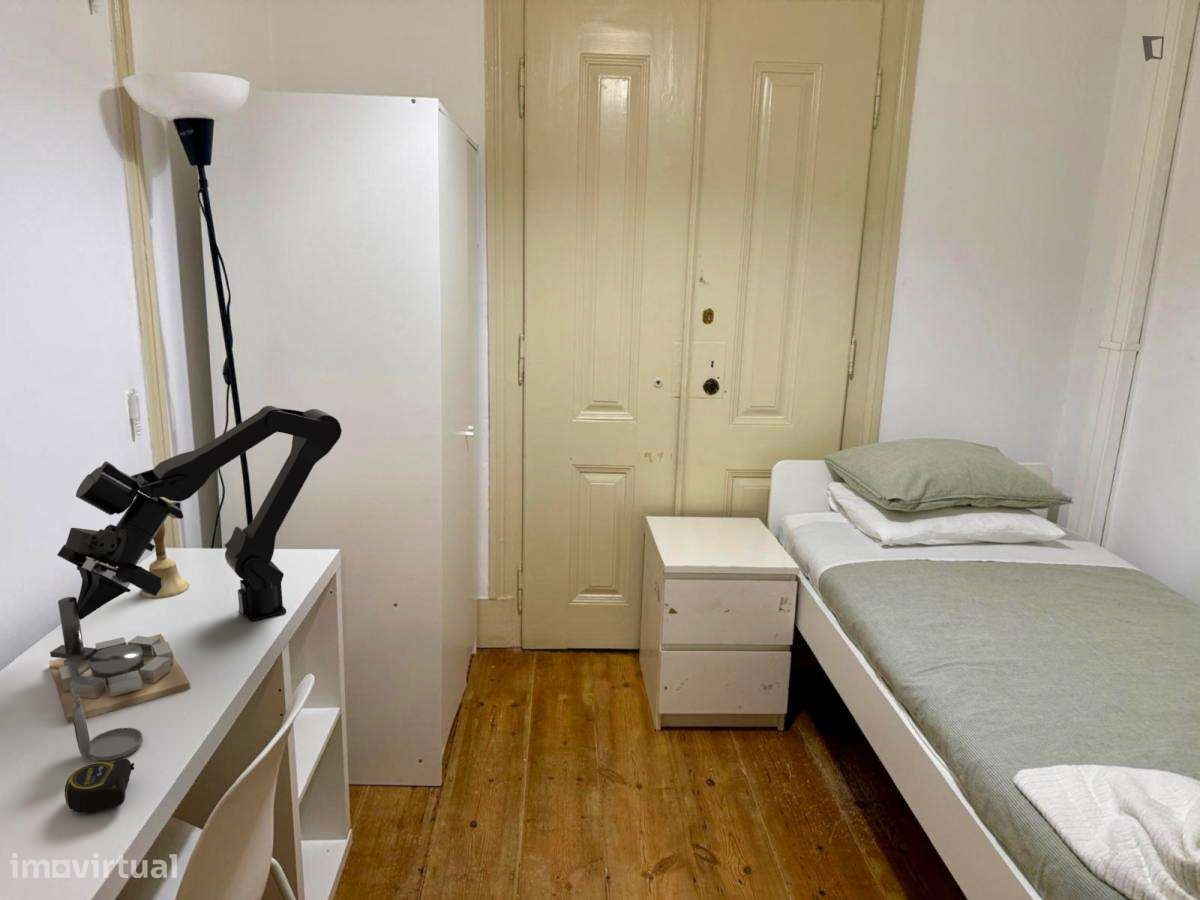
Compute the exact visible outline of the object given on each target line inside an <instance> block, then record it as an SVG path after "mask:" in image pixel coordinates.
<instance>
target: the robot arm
mask: <svg viewBox="0 0 1200 900" xmlns="http://www.w3.org/2000/svg"><path fill="white" fill-rule="evenodd" d="M342 432H343V431H342V427H341V424H340V421H339V420H338V419H337V418H336V417H334V416H332V415H330V414H329V413H328V412H324V411H323V410H320V409H318V408H312V409H308V410H305V411H301V410H296V409H292V408H291V409H290V408H280V407H276V406H273V405H266V406H263V407H262V408H261V409H260V410H259V411H258V412H256V413H254V414H253V415H252V416H250V417H248V418H247V419H245V420H243V421H242V422H240V423H239V424H237V425H235V426H234V427H232V428H230V429H229V430H227V431H226V432H224V433H222V434H221V435H219V436H217V437H216V438H214V439H212V440H211V441H209V442H208V443H205V445H203V446H201V447H200V448H199V447H198V448H196V449H194V450H191V451H186V452H183V453H179V454H176V455H175V456H172V457H169V458H167V459H165V460H163V461H161V462H159V463H158V464H157V465H155V466H154V467H153V468H152V469H149V470H146V471H142V472H139V473H136V474H132V475H131V476H130V475H128V474H127V473H125V472H124V471H121V470H120V469H118V468H117V467H116V466H115V465H113V464H112V463H110V462H109V461H104V462H103V463H102V465H101V466H99V467H96V468H95V469H94V470H93V471H92V472H91V473H88V474H87V475H86V476H85V477H84V479H83V480H82V482H81V483H80V484H79V486H78V488H77V490H76V493H75V497H76V498H78V499H79V500H81V501H83V502H85V503H87V504H88V505H91V507H94V508H96V509H97V510H100V511H102V512H103V513H105V514H107V515H109V516H113V515H115V514H117V515H120V514H122V513H124V514H123V515H122V516H121V518H120V519H119V521H118V523H116V525H114V524H111V523H110V524H108V525H107V526H106V527H105V528H104V529H102V528H100V529H99V530H93V529H86V528H80V527H70V531H69V533H68V536H67V539H66V543H65V544H63V545H62V547H61V549H60V550H59V551H58V553H57V554H56V556H57V557H58V558H61V559H63V560H65V561H67V562H69V563H71V564H72V565H75V566H76V570H78V571H79V574H80V577H81V580H82V581H81V587H80V591H79V595H78V598H77V605H78V612H79V619H80V621H81V620H83V619H85V618H86V617H87V616H89V615H91V614H92V613H94V612H95V611H96V610H99V609H100V608H101V607H103V606H105V605H106V604H107V603H109V602H111V601H112V600H114V599H116V598H118V597H119V596H121V595H123V594H125V593H130V592H131V589H130V588H129V587H130V584H131V585H133V586H134V587H137V588H138V589H140V590H141V589H142V590H143V592H145V593H147V594H150V595H153V596H155V597H156V596H157V594H158V592H159V591H160V589H161V588H162V578H160V577H158V576H156V575H154V574H153V573H151V572H149V570H147V569H145V568H144V567H142V566H139V565H137V564H138V562H139V560H140V559H141V558H142V556H143V555H144V554H145V552H146V551H149V552H153V550H155V549H154V548H155V544H152V541H154V540H153V538H154V537H155V535H156V534H157V532H158V531H159V529H160V528H161V526H162V525H163V523H164V524H165V522H166V520H167V519H168V518H169V517H170V518H172V519H178V520H182V519H183V518H184V514H183V511H182V508H181V502H183V501H186V500H188V499H190V498H191V497H192V496H193V495H195V493H197V492H198V491H199V490H200V489H201V488H202V487H203V486H205V485H206V483H207V482H208V481H209V480H210V478H211V477H212V476H213V474H214V473H216V472H217V471H218V470H219V469H220V468H222V467H224V466H225V465H226V464H228V463H230V462H231V461H233V460H235V459H236V458H239V456H241V455H242V454H244V453H245V452H247V451H249V450H250V449H252V448H253V447H255V446H257V445H258V444H260V443H262V442H263V441H265V440H266V439H268V438H269V437H270V436H273V435H274V434H275V433H282V434H287V435H290V436H292V441H291V450H290V452H289V455H288V456H287V458H286V460H285V461H284V464H283V465H282V467H281V468H280V471H279V473H278V475H277V476H276V478H275V480H274V482H273V484H272V485H271V488H270V489H269V490H268V493H267V495H266V496H265V498H264V500H263V502H262V504H261V505H260V507H259V509H258V511H257V513H256V514H255V516H254V518H253V519H252V521H251V522H250V523H249V524H248V525H247V526H245V527H244V528H240V527H239V526H235V527H234V530H232V531H233V532H232V535H231V537H230V538H229V540H228V541H227V542H226V543H225V544H223V545H224V547H225V548H226V549H225V553H224V558H225V561H226V564H227V565H228V566H229V567H230V568H231V570H232V571H233V572H234V573H235V574H236V575H237V576H238V578H239V579H241V580H239V584H240V585H239V587H240V588H239V589H237V597H238V598H237V599H238V608H239V612H240V613H241V614H242V615H243V616H245V618H246V619H247V620H248V621H249V622H255V621H258V620H261V619H262V620H263V619H266V618H270V617H274V616H279V615H282V614H285V613H287V609H286V608H285V606H284V605H283V603H284V602H283V592H282V581H283V578H284V572H283V571H282V570H281V569H280V568H279V567H278V566H277V565H276V564H275V563H274V562H273V561H272V559H273V556H274V553H275V545H276V539H277V534H278V532H279V530H280V528H281V527H282V524H283V523H284V521H285V520H286V517H287V515H288V514H289V512H290V510H291V508H292V506H293V505H294V503H295V501H296V499H297V497H298V496H299V494H300V491H301V490H302V488H303V487H304V485H305V483H306V481H307V479H308V477H309V475H310V473H311V471H312V470H313V468H314V466H315V465H316V464H317V463H318V462H320V460H321V459H323V458H324V457H326V455H328V454H329V453H330V452H331V450H332V449H333V448H334V446H335V445H336V444H337V443H338V442H339V440H340V438H341V436H342ZM165 499H166V500H165ZM168 500H169V501H170V502H169V501H168ZM171 501H172V502H171Z"/></svg>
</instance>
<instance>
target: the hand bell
mask: <svg viewBox="0 0 1200 900" xmlns="http://www.w3.org/2000/svg"><path fill="white" fill-rule="evenodd" d="M165 524H166V523H165V522H164V523H163V525H162V526H161V528H160V529H159V531H158V532H157V534H156V535H155V537H154V538H153V540H152V541H154V542H153V543H154V546H155V547H154V548H155V549H154V550H155V556H156V559H155V560H153V561H152V562H150V564H149V567H148V568H149V569H148V571H149V572H151V573H153V574H154V575H156V576H158V577H160V578H162V588H161V589H160V591H159V592H158V594H157V596H156V597H155V596H153V595H150V594H147V593H145V592H143V590H142V589H140V594H141V596H143V597H145V598H148V599H165V598H171V597H175V596H177V595H180V594H182V593H184V592H186V591H187V590H188V589H189V587H190V583H189V582H188V581H187V580H186V579H185V578H183V577H182V576H181V574H180V572H179V570H178V567H177V563H176V561H175V560H174V559H172V558H169V557H167V556H168V555H167V551H166V547H165V535H166V525H165Z"/></svg>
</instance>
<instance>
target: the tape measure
mask: <svg viewBox="0 0 1200 900" xmlns="http://www.w3.org/2000/svg"><path fill="white" fill-rule="evenodd" d="M134 765H135V763H134V762H132V763H131V761H130V759H128V758H120V759H119V758H118V759H115V761H111V760H104V761H102V760H99V761H96V762H92V763H89V764H86V765H84V766H81V767H79V768H78V769H77V770H75V771H73V773H71V775H70V776H69V777H68V779H67V780H66V783H65V785H64V798H65V802H66V805H67V806H68V808H69V809H70V810H71V811H73V812H75V813H78V814H94V813H95V814H96V813H97V812H98V813H99V812H102V811H105V810H108V809H113V808H117V807H118V806H121V805H123V804H124V802H125V801H126V800H125V799H126V789H127V787H128V785H129V782H130V777H131V774H132V771H134V770H135V766H134Z"/></svg>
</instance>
